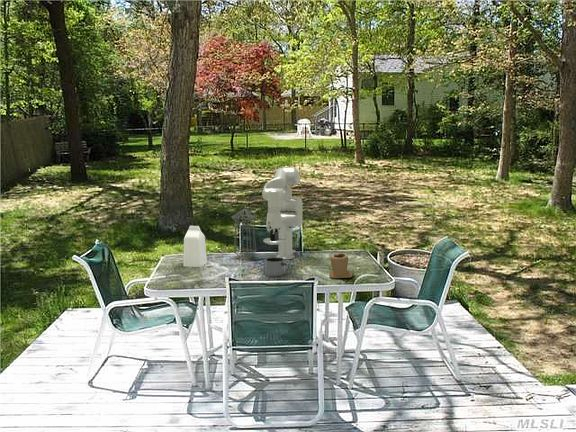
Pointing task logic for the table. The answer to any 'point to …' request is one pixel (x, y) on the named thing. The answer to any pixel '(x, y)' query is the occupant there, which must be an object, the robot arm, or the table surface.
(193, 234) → the milk
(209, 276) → the table surface
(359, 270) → the table surface
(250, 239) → the geometric lantern
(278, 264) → the pot
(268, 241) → the lid
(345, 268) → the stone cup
